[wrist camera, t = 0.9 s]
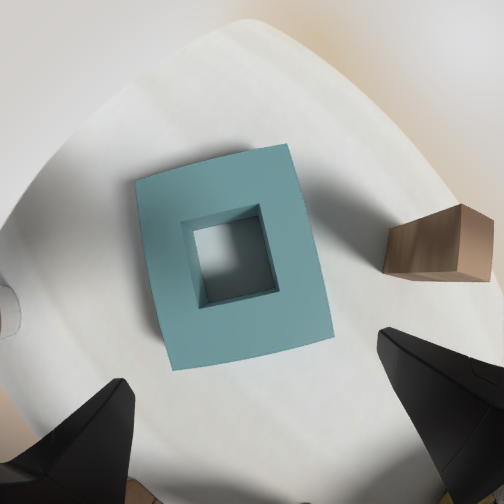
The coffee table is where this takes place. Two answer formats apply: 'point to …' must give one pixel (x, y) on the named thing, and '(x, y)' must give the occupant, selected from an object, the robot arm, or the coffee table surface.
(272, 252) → the teal square hole block
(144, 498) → the wooden block
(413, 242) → the square peg
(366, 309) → the coffee table surface
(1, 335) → the coffee cup
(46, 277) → the coffee table surface
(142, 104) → the coffee table surface
